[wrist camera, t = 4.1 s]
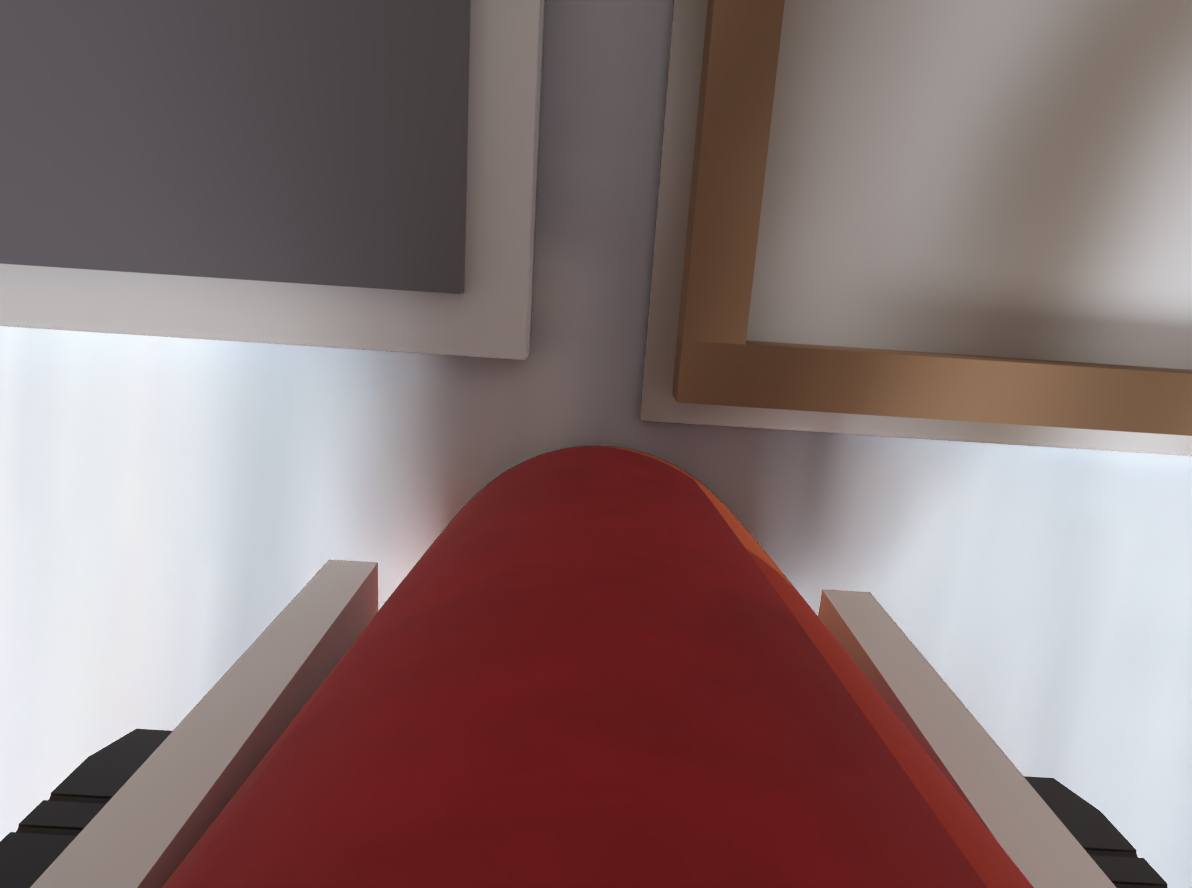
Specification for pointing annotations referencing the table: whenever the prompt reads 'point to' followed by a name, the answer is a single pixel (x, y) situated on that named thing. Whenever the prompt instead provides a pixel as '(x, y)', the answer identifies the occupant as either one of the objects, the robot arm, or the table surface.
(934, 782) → the coffee cup
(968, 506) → the table surface
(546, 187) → the table surface
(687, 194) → the wooden picture frame
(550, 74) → the table surface
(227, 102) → the ink pad
